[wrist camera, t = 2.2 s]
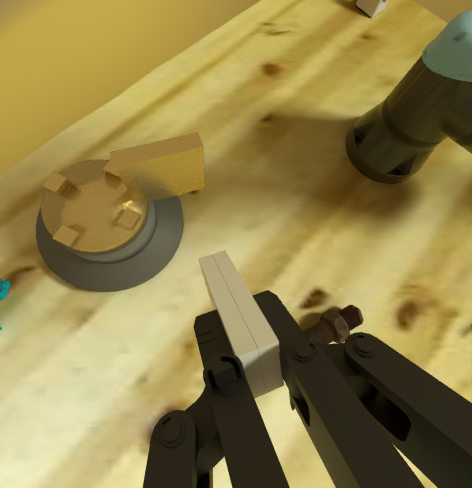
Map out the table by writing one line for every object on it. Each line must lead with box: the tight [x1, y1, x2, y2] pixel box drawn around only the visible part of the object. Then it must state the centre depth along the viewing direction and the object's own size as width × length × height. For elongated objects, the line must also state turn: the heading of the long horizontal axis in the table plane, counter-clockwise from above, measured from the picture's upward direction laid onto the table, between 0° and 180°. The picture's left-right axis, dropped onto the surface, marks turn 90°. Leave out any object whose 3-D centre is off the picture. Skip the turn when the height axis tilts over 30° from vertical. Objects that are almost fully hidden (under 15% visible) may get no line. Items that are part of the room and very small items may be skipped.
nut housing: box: [36, 160, 183, 292], centre depth 41 cm, size 22×22×5 cm
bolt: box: [304, 305, 363, 344], centre depth 39 cm, size 6×5×15 cm
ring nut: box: [41, 132, 204, 255], centre depth 34 cm, size 22×13×11 cm, turn 110°
